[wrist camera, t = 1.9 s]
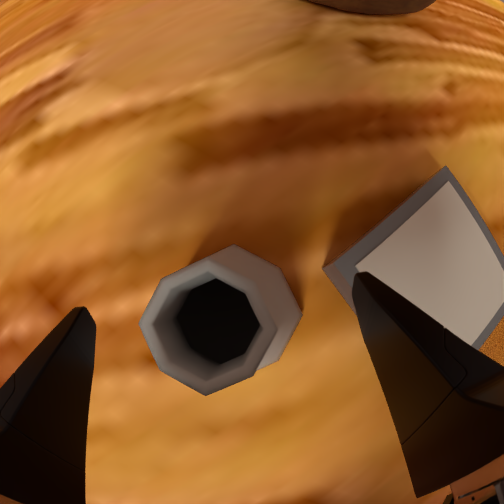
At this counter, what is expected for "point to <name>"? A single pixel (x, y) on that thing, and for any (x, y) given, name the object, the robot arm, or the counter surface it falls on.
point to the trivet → (433, 259)
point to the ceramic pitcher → (378, 5)
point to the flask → (220, 319)
